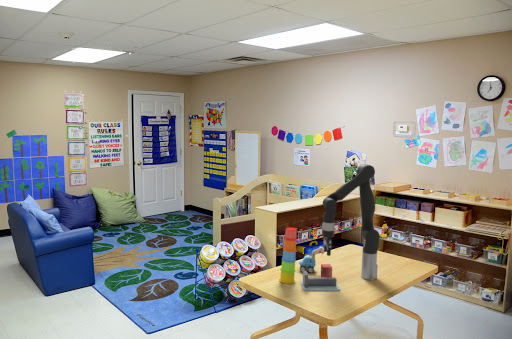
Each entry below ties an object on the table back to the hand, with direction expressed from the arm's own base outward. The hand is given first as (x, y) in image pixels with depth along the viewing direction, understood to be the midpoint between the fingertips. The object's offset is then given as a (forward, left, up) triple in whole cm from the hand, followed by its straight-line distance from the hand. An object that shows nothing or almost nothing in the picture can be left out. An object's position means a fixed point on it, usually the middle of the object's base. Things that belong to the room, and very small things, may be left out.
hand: (327, 253), depth 257 cm
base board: (+7, +13, -17) cm, 22 cm away
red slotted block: (0, 0, -17) cm, 17 cm away
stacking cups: (+26, +4, -17) cm, 31 cm away
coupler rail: (+7, +13, -17) cm, 22 cm away
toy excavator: (+7, -15, -17) cm, 24 cm away
